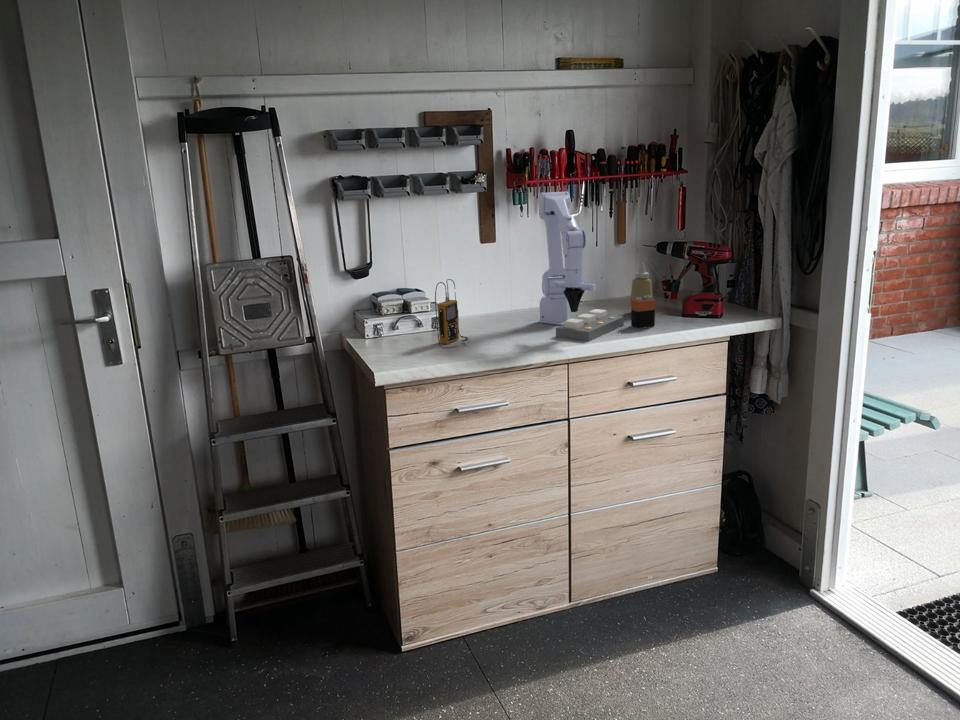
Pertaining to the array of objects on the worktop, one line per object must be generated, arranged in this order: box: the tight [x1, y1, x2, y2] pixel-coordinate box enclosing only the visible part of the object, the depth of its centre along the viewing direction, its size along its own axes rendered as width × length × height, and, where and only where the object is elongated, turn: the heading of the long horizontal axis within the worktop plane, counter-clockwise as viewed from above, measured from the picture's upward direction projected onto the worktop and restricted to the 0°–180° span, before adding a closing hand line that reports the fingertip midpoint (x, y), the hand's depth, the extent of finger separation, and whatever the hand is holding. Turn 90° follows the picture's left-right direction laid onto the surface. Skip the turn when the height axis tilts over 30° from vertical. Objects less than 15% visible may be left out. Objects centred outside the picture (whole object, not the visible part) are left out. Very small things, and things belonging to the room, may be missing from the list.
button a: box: [565, 318, 584, 329], centre depth 250 cm, size 4×4×3 cm
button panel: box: [555, 314, 625, 342], centre depth 256 cm, size 12×24×3 cm, turn 144°
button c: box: [588, 308, 608, 319], centre depth 262 cm, size 4×4×3 cm
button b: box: [576, 313, 596, 324], centre depth 256 cm, size 4×4×3 cm
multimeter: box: [434, 278, 469, 349], centre depth 245 cm, size 15×10×20 cm
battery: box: [630, 296, 656, 329], centre depth 259 cm, size 4×7×10 cm, turn 108°
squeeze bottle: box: [629, 261, 654, 305], centre depth 276 cm, size 8×8×18 cm
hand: (574, 311), depth 249 cm, fingers closed
